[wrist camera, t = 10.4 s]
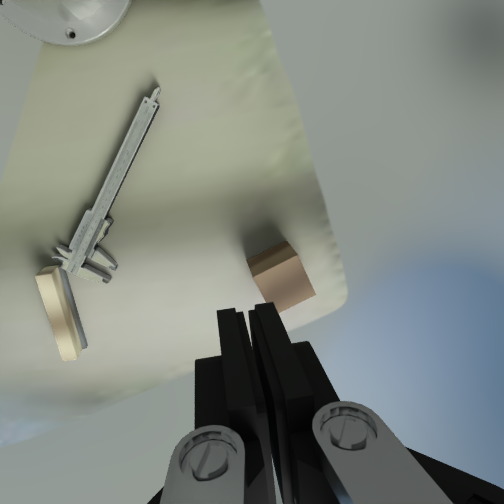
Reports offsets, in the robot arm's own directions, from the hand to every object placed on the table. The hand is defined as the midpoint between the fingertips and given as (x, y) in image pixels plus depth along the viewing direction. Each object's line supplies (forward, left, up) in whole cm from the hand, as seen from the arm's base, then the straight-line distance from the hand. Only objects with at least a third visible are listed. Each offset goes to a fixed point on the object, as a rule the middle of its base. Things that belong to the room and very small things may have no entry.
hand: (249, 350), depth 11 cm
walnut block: (+10, +6, -29) cm, 31 cm away
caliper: (0, -6, -29) cm, 29 cm away
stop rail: (+11, -17, -29) cm, 36 cm away
